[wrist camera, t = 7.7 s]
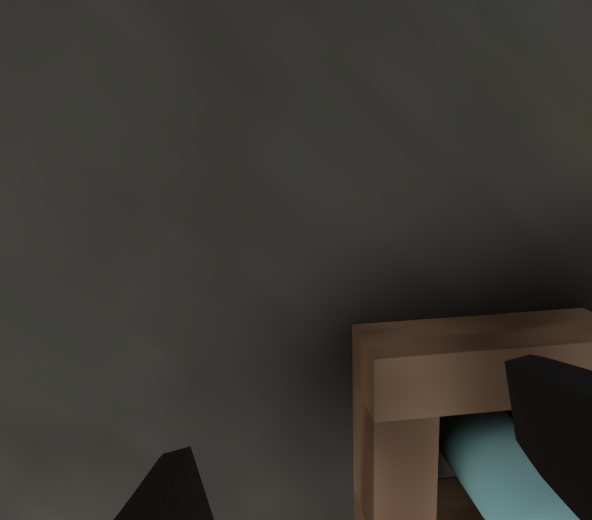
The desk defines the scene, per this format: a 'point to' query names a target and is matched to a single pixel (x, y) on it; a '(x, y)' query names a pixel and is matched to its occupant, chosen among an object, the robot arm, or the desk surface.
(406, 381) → the socket block
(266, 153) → the desk surface
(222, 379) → the desk surface
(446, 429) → the peg
